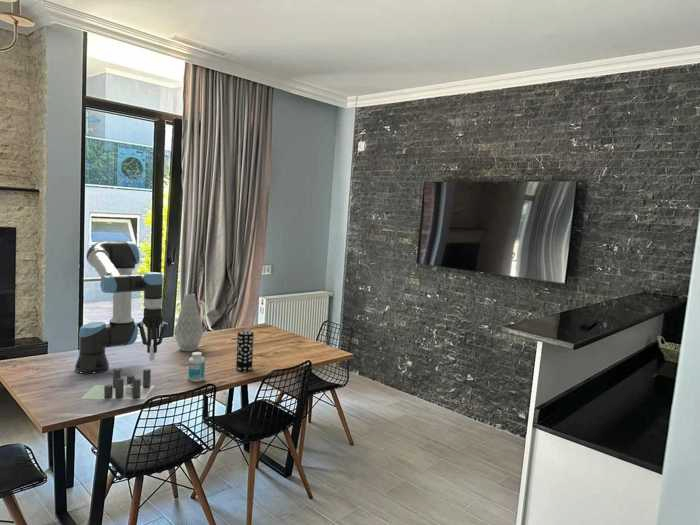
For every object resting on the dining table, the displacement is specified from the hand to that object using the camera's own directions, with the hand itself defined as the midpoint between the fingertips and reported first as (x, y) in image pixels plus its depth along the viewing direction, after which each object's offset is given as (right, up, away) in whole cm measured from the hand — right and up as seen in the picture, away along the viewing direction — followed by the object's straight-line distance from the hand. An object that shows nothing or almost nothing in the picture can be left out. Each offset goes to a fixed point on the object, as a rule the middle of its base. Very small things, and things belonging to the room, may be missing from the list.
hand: (151, 359), depth 223 cm
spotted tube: (+32, -14, +44) cm, 56 cm away
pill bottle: (+12, -15, +24) cm, 31 cm away
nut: (-9, -14, +1) cm, 17 cm away
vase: (-8, -8, +75) cm, 76 cm away
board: (-14, -15, 0) cm, 21 cm away
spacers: (-12, -14, 0) cm, 18 cm away
